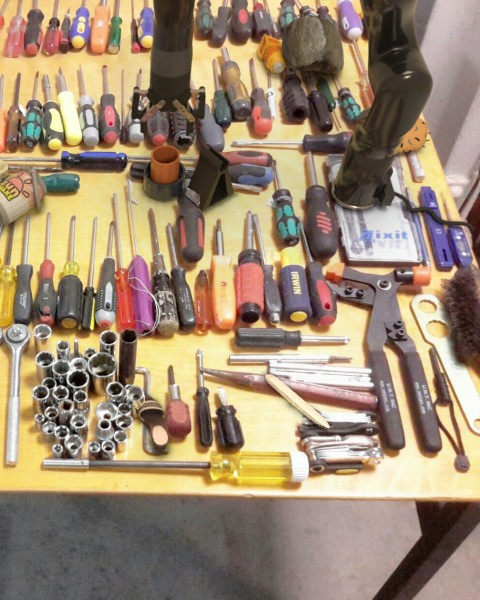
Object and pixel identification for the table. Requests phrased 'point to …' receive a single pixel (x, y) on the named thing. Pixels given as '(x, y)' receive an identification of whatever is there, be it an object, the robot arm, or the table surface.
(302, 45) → the stone
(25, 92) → the table surface
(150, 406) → the heeled mule
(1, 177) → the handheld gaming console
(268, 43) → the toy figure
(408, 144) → the toy
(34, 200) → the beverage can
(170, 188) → the big pot
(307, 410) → the light wooden rod
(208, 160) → the phone stand
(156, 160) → the small pot
